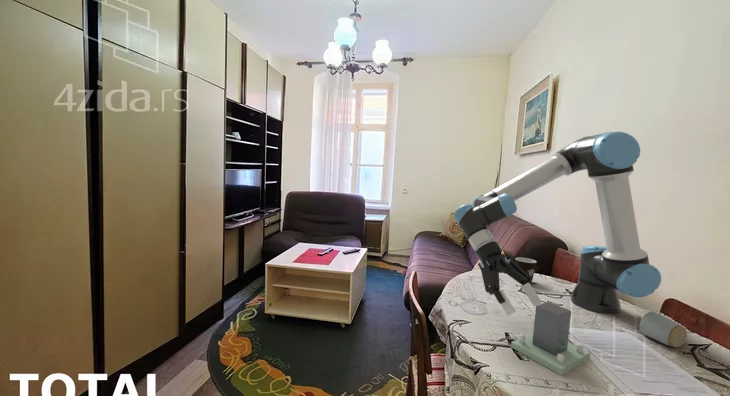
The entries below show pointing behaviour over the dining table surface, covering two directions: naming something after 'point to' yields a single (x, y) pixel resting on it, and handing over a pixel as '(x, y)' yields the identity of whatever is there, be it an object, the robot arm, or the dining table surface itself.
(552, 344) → the block
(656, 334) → the grey cylinder
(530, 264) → the coffee mug
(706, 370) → the dining table surface
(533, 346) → the pin plate
